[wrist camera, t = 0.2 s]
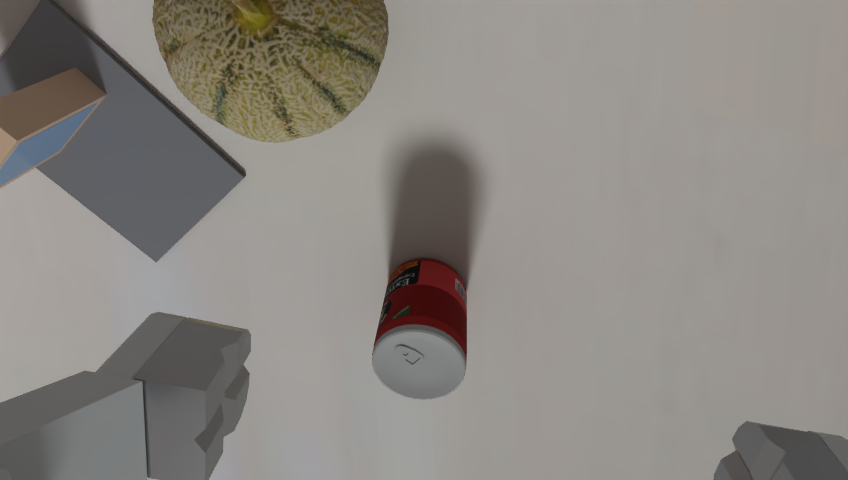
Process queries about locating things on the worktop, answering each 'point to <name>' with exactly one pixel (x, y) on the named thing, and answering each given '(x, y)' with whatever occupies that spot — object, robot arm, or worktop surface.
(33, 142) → the block
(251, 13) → the cantaloupe
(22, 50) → the mat
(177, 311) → the worktop surface
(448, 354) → the canned food
